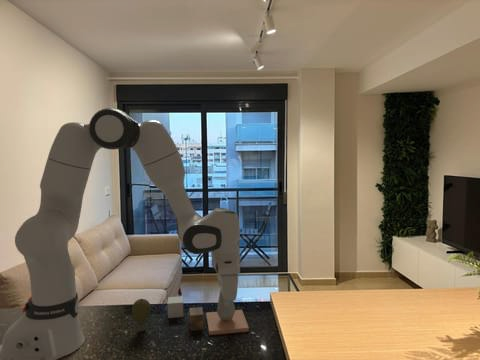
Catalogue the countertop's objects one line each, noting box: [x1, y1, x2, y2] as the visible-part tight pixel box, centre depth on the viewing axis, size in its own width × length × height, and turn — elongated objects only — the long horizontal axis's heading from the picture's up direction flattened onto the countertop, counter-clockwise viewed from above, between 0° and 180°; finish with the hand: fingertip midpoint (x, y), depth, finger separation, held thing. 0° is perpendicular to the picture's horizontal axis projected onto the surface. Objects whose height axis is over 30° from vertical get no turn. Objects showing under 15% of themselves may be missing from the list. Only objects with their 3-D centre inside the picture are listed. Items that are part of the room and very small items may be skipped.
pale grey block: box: [167, 295, 184, 319], centre depth 121 cm, size 5×5×5 cm
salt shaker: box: [216, 280, 236, 321], centre depth 113 cm, size 6×6×13 cm
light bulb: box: [131, 298, 152, 332], centre depth 109 cm, size 6×6×10 cm
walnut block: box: [189, 306, 204, 332], centre depth 112 cm, size 4×5×5 cm
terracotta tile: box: [205, 309, 250, 336], centre depth 114 cm, size 12×12×1 cm
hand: (225, 302), depth 114 cm, fingers closed on salt shaker, 3 cm apart
